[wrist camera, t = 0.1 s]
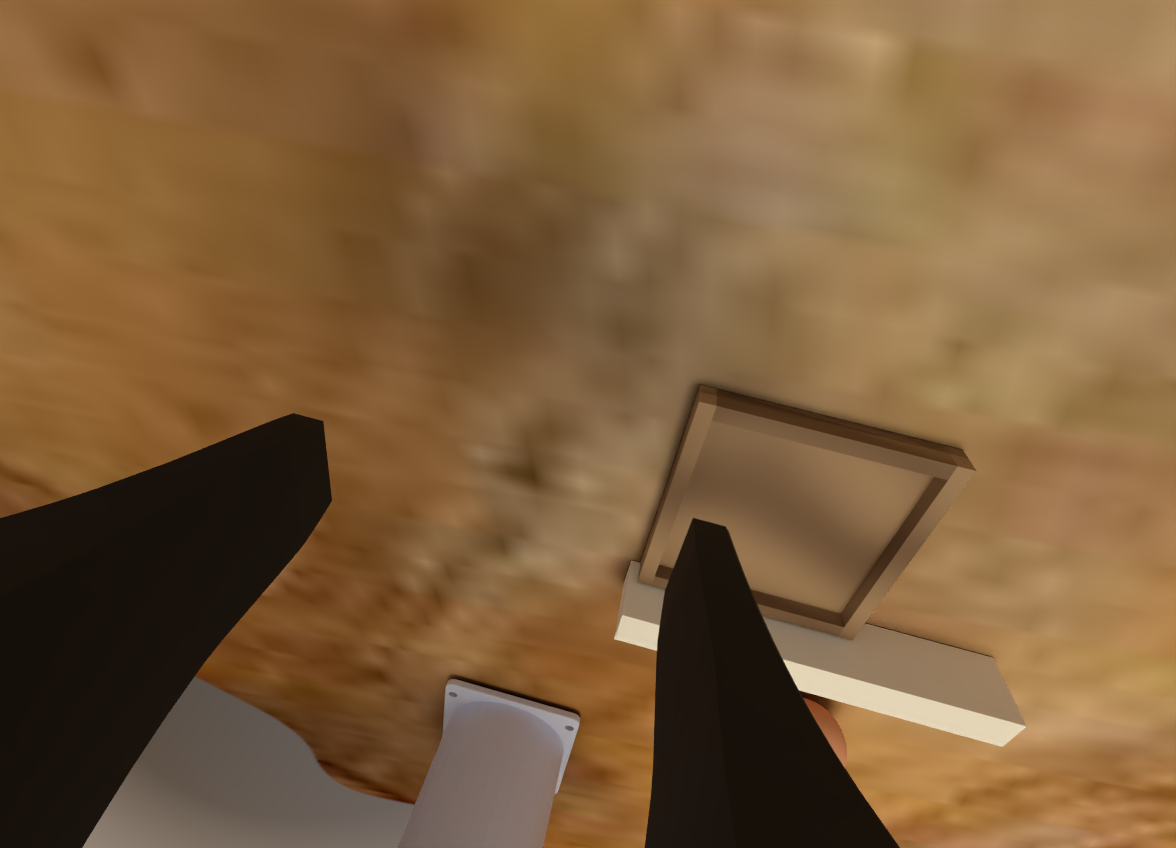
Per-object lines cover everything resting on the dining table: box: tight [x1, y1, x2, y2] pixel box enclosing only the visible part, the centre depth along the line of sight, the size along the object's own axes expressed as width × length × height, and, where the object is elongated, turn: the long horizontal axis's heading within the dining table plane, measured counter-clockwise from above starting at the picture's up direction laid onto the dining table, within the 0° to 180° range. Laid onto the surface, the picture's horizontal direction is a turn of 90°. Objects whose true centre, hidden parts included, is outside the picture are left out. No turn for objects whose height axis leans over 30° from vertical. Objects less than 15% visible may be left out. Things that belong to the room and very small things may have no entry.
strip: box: [614, 560, 1027, 747], centre depth 24 cm, size 2×16×3 cm, turn 80°
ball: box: [803, 698, 847, 767], centre depth 26 cm, size 4×4×4 cm
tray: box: [638, 385, 976, 640], centre depth 21 cm, size 9×9×1 cm
